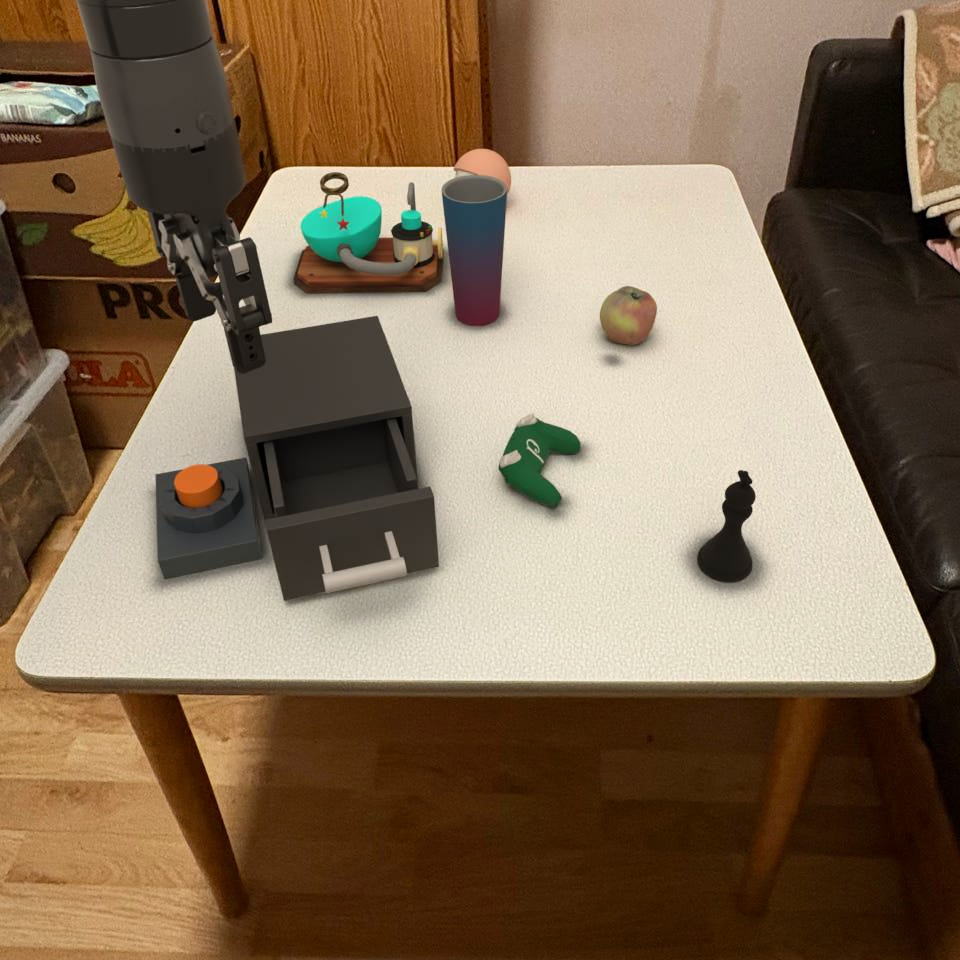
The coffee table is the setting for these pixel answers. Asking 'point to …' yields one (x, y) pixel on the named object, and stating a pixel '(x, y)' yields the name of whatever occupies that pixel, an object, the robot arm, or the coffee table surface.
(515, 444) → the gaming controller
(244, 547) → the control block
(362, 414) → the drawer cabinet
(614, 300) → the apple
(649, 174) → the coffee table surface
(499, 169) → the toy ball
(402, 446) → the dark box with handle
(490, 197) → the cup
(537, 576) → the coffee table surface
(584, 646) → the coffee table surface
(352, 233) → the contraption on wooden base
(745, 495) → the chess piece
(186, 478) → the button
